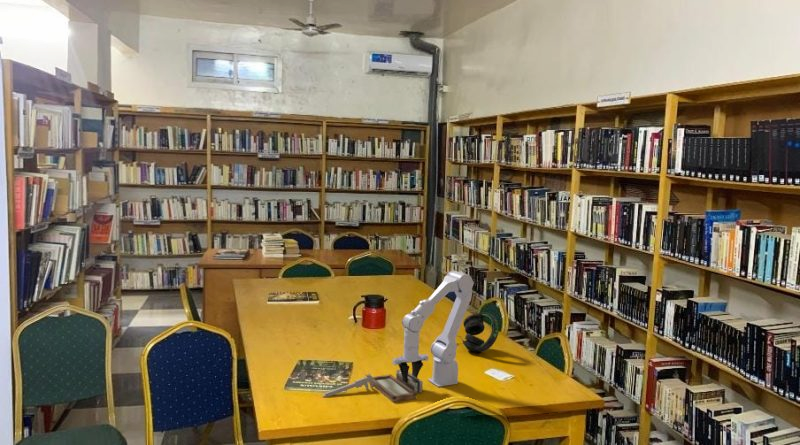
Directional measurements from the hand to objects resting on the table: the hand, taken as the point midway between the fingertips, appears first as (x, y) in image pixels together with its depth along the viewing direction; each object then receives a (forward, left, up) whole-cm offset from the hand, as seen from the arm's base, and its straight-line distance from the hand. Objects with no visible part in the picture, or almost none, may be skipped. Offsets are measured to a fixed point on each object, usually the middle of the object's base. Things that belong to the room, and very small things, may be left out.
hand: (409, 380), depth 228 cm
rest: (+8, 0, -3) cm, 8 cm away
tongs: (0, 0, -2) cm, 2 cm away
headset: (-48, -30, -3) cm, 57 cm away
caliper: (+24, -4, -3) cm, 24 cm away
